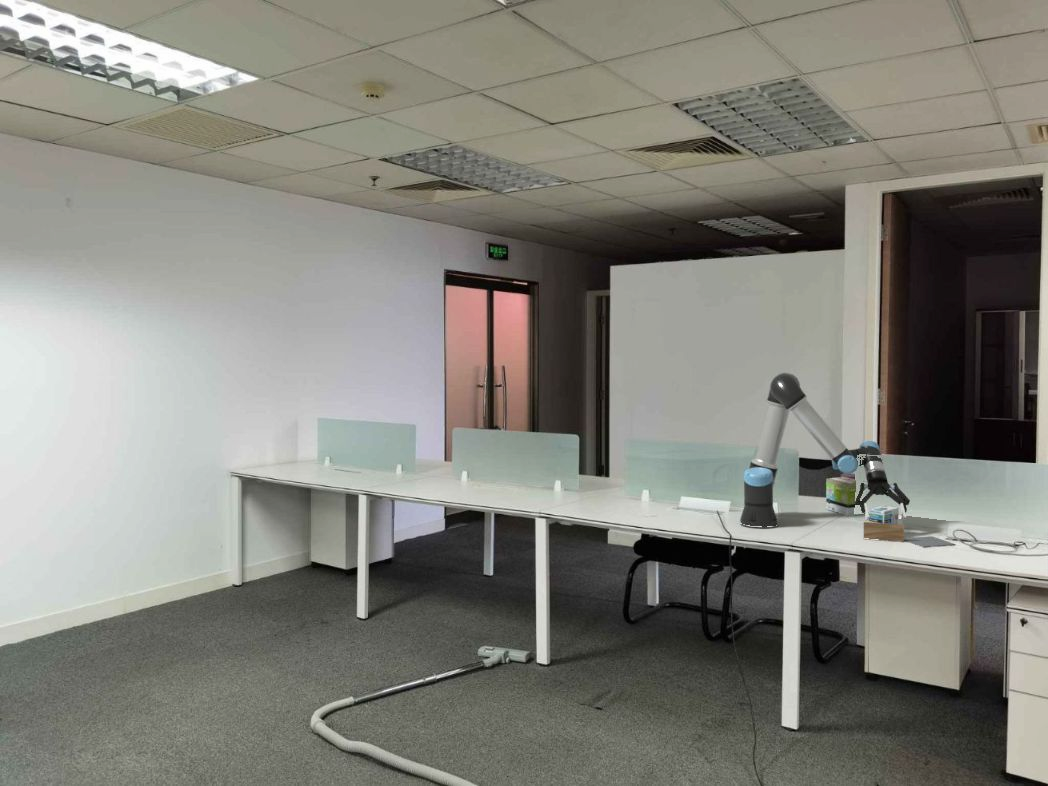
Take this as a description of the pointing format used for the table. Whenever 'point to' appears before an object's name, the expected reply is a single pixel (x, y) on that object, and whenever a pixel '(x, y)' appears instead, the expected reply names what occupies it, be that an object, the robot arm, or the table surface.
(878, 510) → the light bulb box
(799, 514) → the table surface
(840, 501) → the tea box
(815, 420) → the robot arm
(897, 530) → the oak screen
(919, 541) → the charcoal mat
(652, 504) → the table surface
